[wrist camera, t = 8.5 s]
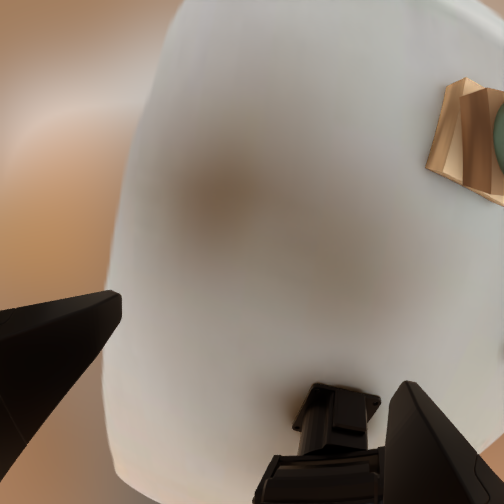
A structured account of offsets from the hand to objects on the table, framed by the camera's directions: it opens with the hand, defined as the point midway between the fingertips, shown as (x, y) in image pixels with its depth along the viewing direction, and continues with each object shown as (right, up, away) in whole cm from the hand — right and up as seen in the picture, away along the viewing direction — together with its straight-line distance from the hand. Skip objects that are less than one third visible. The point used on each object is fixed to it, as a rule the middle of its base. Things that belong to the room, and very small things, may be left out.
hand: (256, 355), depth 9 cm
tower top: (+14, +9, +4) cm, 17 cm away
